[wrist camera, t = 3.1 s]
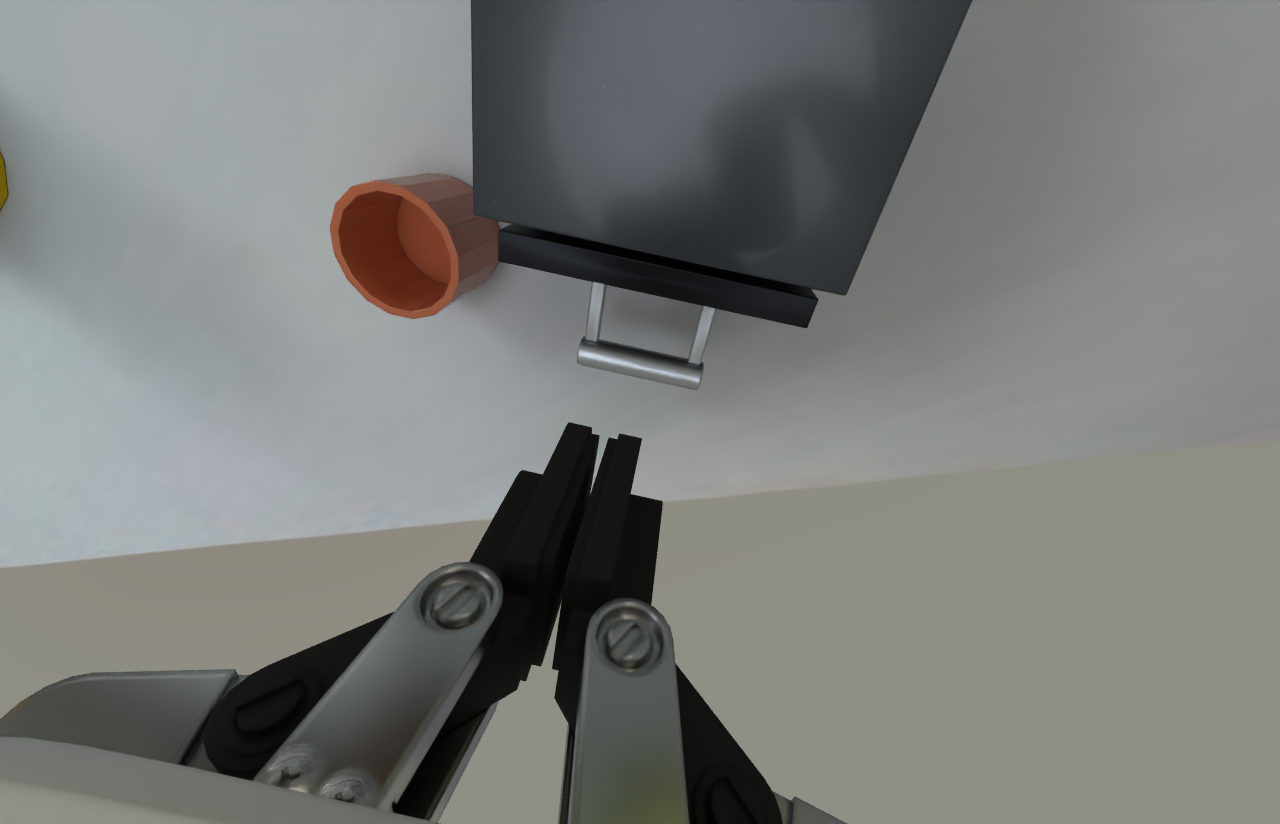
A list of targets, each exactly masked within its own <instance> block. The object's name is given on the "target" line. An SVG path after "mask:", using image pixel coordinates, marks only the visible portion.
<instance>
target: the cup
mask: <svg viewBox="0 0 1280 824" xmlns="http://www.w3.org/2000/svg"><path fill="white" fill-rule="evenodd" d="M330 233H331V239H332V245H333V250H334V254H335V257H336V259H337V261H338V263H339V265H340V267H341V268H342V270H343V272H344V274H345V276H346V278H347V279H348V281H349V282H350V283H351V284H352V285H353V286H354V287H355V288H356V289H357V290H358V292H359V293H360V294H361V295H362V296H363V297H364V298H365V299H366V300H367V301H369V302H371V303H372V304H374V305H376V306H377V307H379V308H381V309H382V310H384V311H386V312H387V313H390V314H393V315H397V316H402V317H406V318H411V319H416V318H422V317H427V316H432V315H435V314H437V313H438V312H440V311H442V310H443V309H445V308H446V307H448V306H449V305H451V304H452V303H454V302H455V301H457V300H458V299H460V298H461V297H463V296H465V295H466V294H468V293H469V292H471V291H472V290H474V289H475V288H476V287H478V286H479V285H480V284H482V283H483V282H485V281H486V280H487V279H488V278H489V277H490V276H491V275H492V274H493V272H494V271H495V269H496V267H497V265H498V262H499V261H498V241H499V227H498V224H497V221H496V220H493V219H488V218H483V217H479V216H475V215H474V213H473V188H472V187H470V186H469V185H468V184H466V183H464V182H463V181H461V180H459V179H456V178H454V177H451V176H448V175H442V174H421V175H413V176H405V177H397V178H390V179H382V180H374V181H370V182H366V183H363V184H359V185H355V186H352V187H350V188H349V189H348V191H347V192H346V193H345V194H344V195H343V196H342V197H341V198H340V199H339V200H338V201H337V202H336V204H335V207H334V211H333V216H332V220H331V224H330Z"/></svg>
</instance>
